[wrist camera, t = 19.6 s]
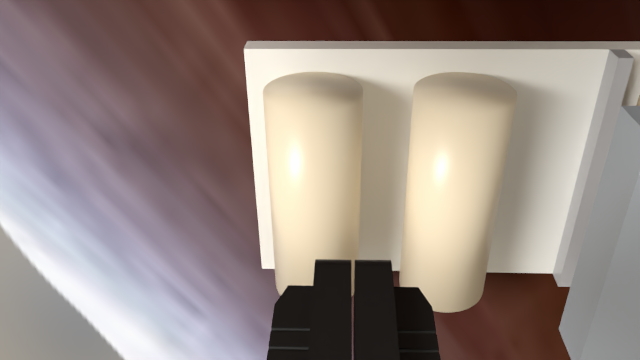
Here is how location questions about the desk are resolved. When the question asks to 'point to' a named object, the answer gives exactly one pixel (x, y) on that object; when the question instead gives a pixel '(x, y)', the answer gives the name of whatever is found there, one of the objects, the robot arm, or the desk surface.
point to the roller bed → (390, 125)
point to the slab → (610, 258)
